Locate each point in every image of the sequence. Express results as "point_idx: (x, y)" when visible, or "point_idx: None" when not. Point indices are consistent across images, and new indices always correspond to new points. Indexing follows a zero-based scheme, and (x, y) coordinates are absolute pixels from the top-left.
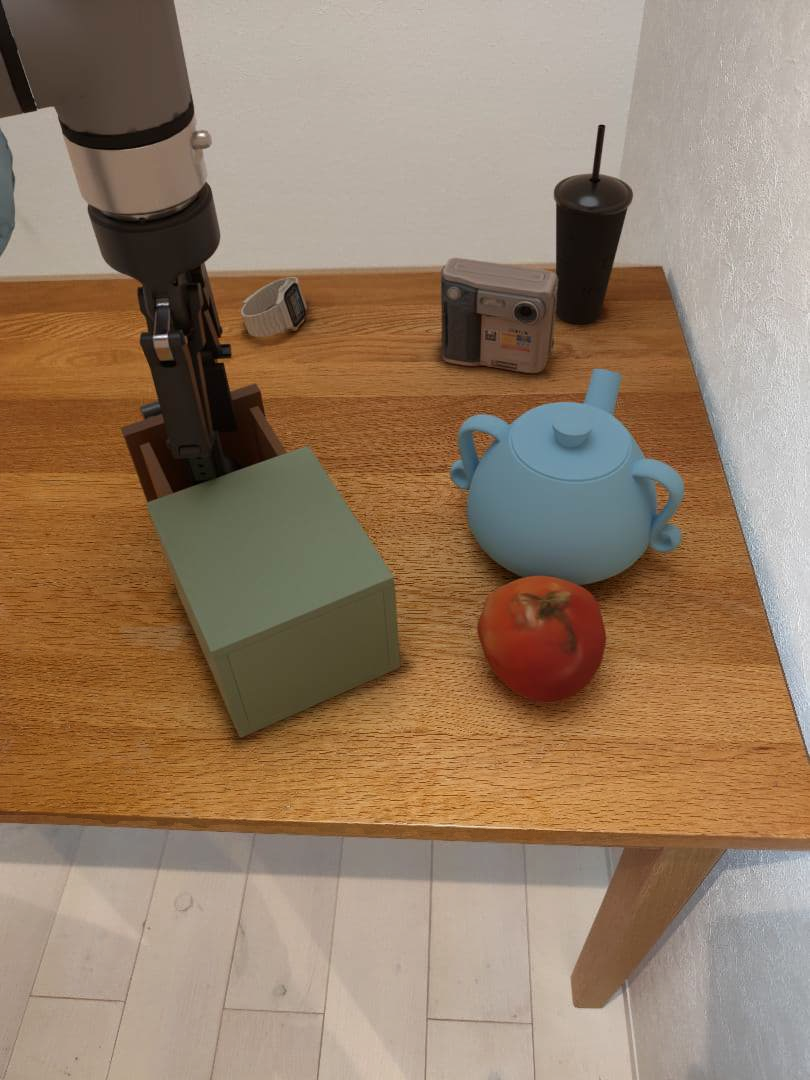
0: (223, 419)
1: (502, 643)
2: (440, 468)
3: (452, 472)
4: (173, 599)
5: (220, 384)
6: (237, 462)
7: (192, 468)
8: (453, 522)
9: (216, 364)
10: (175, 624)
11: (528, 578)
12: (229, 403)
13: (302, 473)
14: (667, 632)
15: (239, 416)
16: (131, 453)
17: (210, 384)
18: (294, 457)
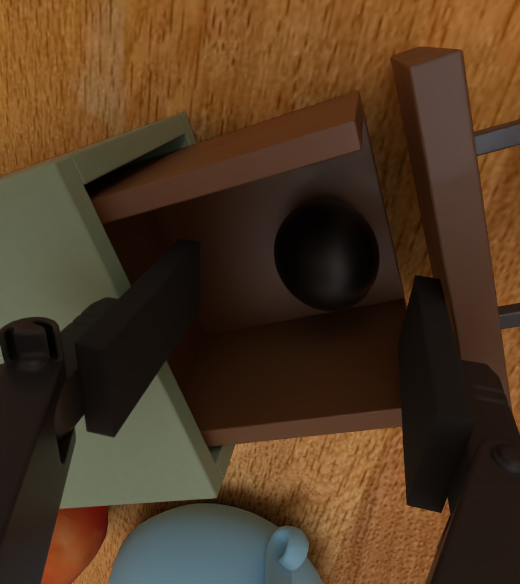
0: (405, 346)
1: None
2: (370, 497)
3: (288, 542)
4: (178, 101)
5: (408, 439)
6: (336, 310)
7: (72, 322)
8: (267, 480)
9: (439, 493)
10: (126, 104)
11: (59, 565)
12: (402, 399)
13: (138, 473)
14: (104, 568)
15: None
16: (402, 66)
17: (415, 418)
18: (184, 471)
